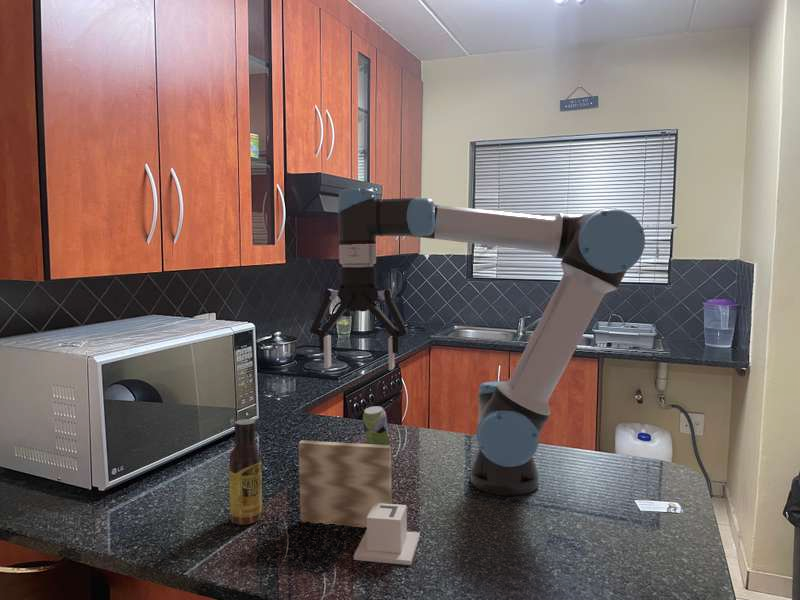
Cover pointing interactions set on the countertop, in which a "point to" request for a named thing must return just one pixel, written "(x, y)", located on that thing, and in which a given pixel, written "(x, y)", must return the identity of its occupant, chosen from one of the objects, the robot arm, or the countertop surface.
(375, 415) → the beverage can
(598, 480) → the countertop surface
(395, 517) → the letter cube
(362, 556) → the tile
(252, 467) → the sauce bottle
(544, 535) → the countertop surface
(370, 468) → the screen
